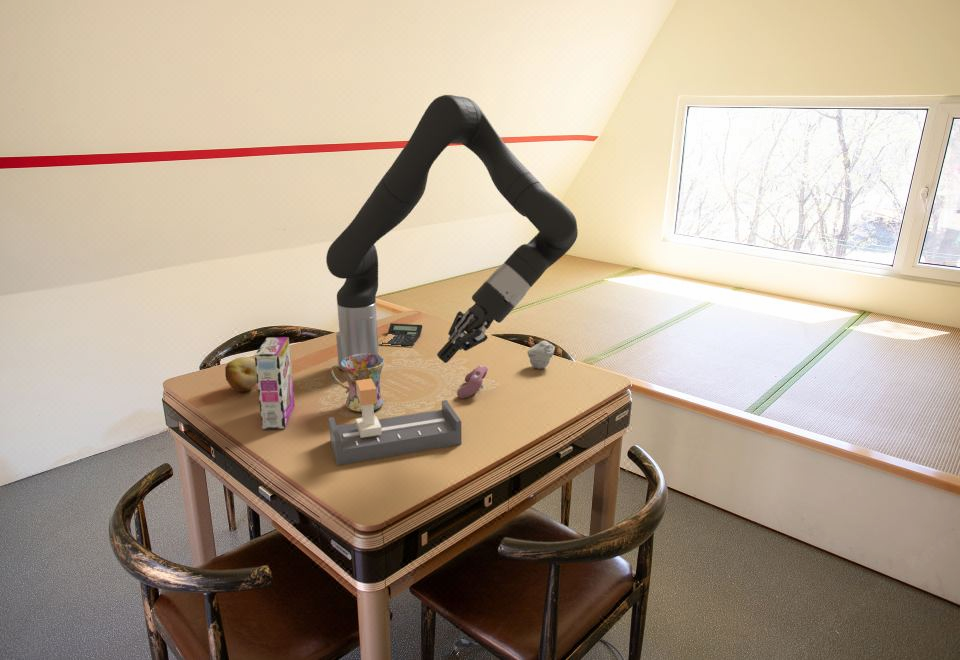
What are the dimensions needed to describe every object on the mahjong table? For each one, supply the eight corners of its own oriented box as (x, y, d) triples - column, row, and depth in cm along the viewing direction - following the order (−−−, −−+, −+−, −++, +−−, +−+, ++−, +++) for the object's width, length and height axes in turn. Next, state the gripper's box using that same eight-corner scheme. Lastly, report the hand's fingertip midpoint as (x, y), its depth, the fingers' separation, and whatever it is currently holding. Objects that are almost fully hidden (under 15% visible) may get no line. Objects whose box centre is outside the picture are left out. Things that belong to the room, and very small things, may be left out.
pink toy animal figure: (472, 406, 148) (486, 382, 145) (454, 396, 148) (468, 372, 145) (480, 388, 157) (493, 365, 154) (463, 379, 157) (476, 356, 154)
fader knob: (376, 423, 129) (374, 378, 126) (381, 434, 124) (379, 388, 121) (356, 426, 128) (353, 380, 125) (360, 437, 123) (357, 391, 120)
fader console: (446, 421, 137) (446, 400, 135) (461, 443, 128) (461, 421, 126) (330, 440, 129) (328, 417, 128) (337, 465, 121) (335, 441, 119)
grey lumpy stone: (557, 371, 163) (558, 344, 161) (531, 373, 161) (531, 347, 159) (549, 362, 169) (550, 336, 166) (523, 364, 167) (524, 339, 165)
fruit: (225, 398, 148) (221, 365, 145) (231, 384, 156) (226, 352, 153) (260, 395, 149) (256, 363, 147) (264, 381, 157) (260, 350, 154)
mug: (391, 398, 148) (389, 354, 145) (379, 416, 139) (376, 370, 136) (341, 395, 150) (337, 351, 146) (325, 412, 141) (321, 367, 138)
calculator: (379, 346, 181) (378, 336, 180) (391, 332, 192) (391, 322, 191) (412, 348, 179) (411, 337, 178) (422, 334, 190) (422, 324, 189)
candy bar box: (286, 429, 134) (278, 354, 129) (261, 430, 133) (252, 355, 128) (296, 405, 144) (289, 335, 139) (273, 406, 144) (265, 336, 139)
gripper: (477, 272, 130) (418, 336, 131) (500, 289, 119) (436, 360, 119) (501, 295, 134) (444, 358, 134) (527, 314, 122) (464, 383, 122)
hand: (441, 359), depth 126 cm, fingers closed
